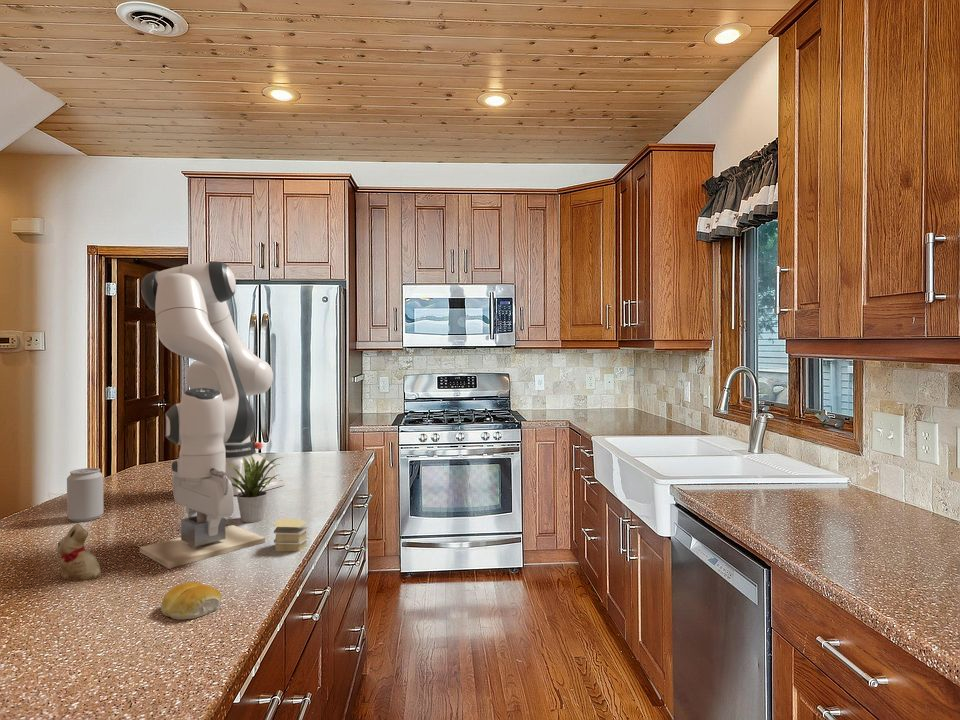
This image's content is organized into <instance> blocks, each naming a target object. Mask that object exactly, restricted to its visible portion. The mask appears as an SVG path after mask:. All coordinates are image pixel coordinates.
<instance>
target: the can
mask: <svg viewBox="0 0 960 720" xmlns="http://www.w3.org/2000/svg"><path fill="white" fill-rule="evenodd" d="M69 474H70V475H68V476H67V477H66V508H67V509H66V515H67V516H66V518H67V519H69V520H70V521H72V522H76V523H81V522H88V521H94V520H97V519H99V518H100V517H101V516H103V514H104V474H103V473H102V472H101V468H98V467H86V468H77V469H73V470H71V471H70V472H69Z"/></svg>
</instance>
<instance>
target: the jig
mask: <svg viewBox="0 0 960 720" xmlns="http://www.w3.org/2000/svg"><path fill="white" fill-rule="evenodd" d="M204 521H209V520H208V515H206V514H203V513H201V512H198V511H197V523H200V522H204ZM225 532H226V539H223V540H219V541H215V542H211V543H207V544H203V545H199V546H193V545H191V544H189V543H187V542H185V541H182V540H181V537H178V538H177V537H176V538H173V539H169V540H164V541H160V542H157V543H156V542H155V543H151V544H148V545H143V546H140V547H139V553H141V554H142V555H144V556H145V557H147V558H148V559H151V560H153V561H155V562H156V563H158V564H160V565H162V566H163V567H165V568H167V569H172V568H176V567H180V566H183V565H186V564H190V563H195V562H198V561H202V560H206V559H209V558H213V557H216V556H221V555H223V554H227V553H231V552H235V551H238V550H242V549H245V548H249V547H253V546H256V545H261V544H264V543H266V537H265V536H262V535H259V534H258V533H255V532H252V531H249V530H246V529H243V528H241V527H239V526H237V525H234V524H231V525H228V526H225Z"/></svg>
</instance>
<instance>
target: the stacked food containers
mask: <svg viewBox="0 0 960 720" xmlns="http://www.w3.org/2000/svg"><path fill="white" fill-rule="evenodd" d="M306 524H308V521H307V520H302V519H301V520H300V519H295V518H281V519H278V520H276V521H275V523H274V524H273V526H274V527H276V528H275V529H274V530H273V534H275V539H273V544H275V551H276V552H284V551H289V552H300V551H302V550H303V549H304V548H306V547H307V540H309V536H307V530H309V527H307V526H304V525H306Z"/></svg>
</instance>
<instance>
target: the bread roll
mask: <svg viewBox="0 0 960 720" xmlns="http://www.w3.org/2000/svg"><path fill="white" fill-rule="evenodd" d="M221 601H222V594H221V592H220V590H218V589H217V588H215V587H214V586H211V585H208V584H203V583H201V582H198V581H187V582H184V583H183V582H182V583H180V584H177V585H176V586H173V587H172V588H170V589H169V590H168V591H167V592H166V594H164V597H163V598H162V600H161V604H160V610H161V614H163V616H165V617H170V618H172V619H174V620H179V621H180V620H181V621H183V620H192V619H197V618H200V617H204V616H206V615H208V614H211V613H212V612H214V611H216V610H217V609H218V608H219V605H220V603H221Z"/></svg>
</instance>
